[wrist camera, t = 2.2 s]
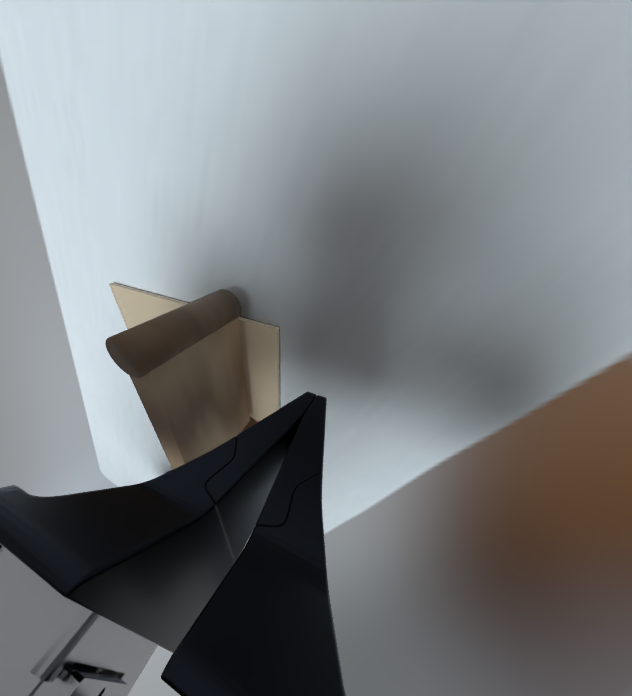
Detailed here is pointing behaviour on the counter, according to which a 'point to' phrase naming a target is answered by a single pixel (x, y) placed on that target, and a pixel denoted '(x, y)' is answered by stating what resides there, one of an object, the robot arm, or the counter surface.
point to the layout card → (255, 340)
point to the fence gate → (189, 374)
